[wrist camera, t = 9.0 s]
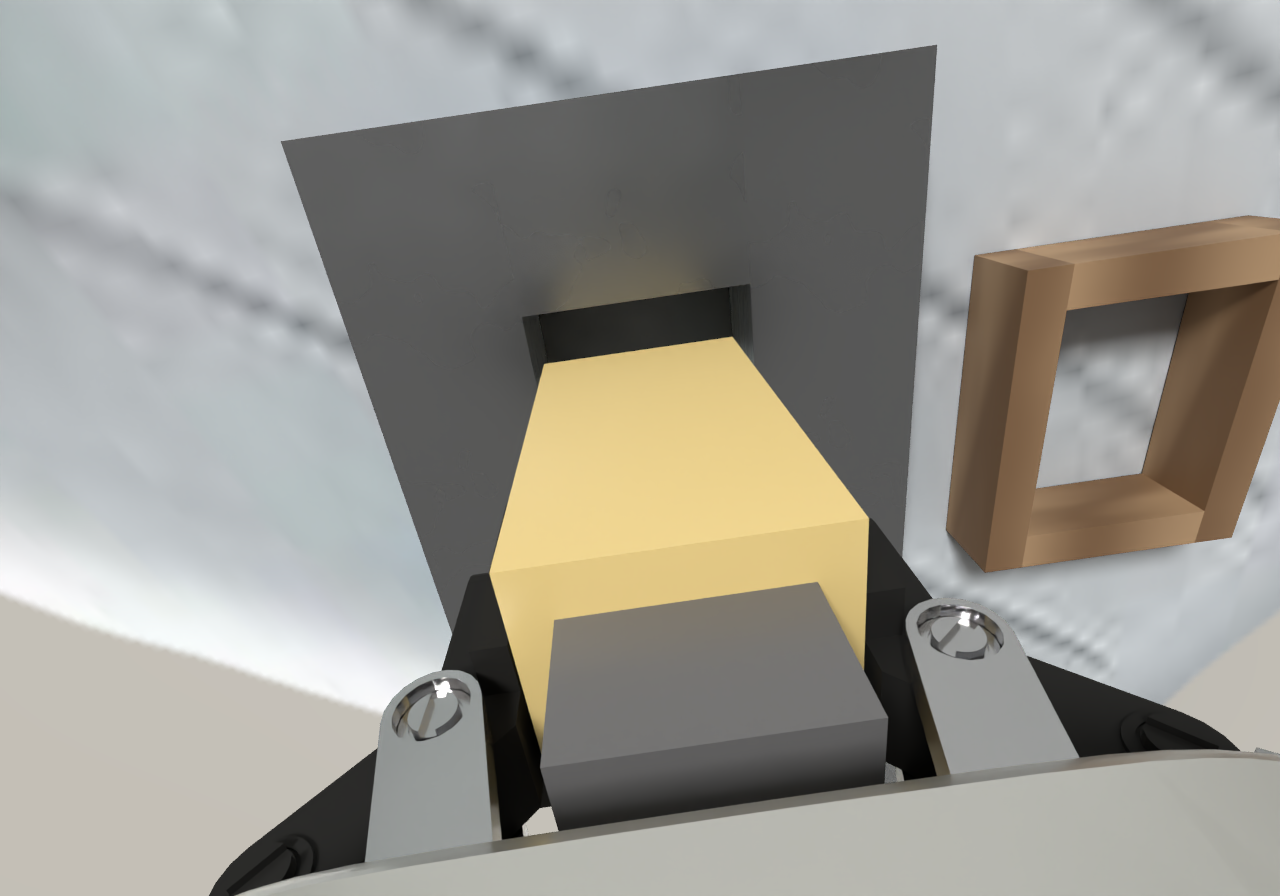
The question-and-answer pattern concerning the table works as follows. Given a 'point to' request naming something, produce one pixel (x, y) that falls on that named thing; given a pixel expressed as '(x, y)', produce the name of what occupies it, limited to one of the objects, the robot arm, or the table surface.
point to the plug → (684, 592)
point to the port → (631, 264)
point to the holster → (1189, 409)
